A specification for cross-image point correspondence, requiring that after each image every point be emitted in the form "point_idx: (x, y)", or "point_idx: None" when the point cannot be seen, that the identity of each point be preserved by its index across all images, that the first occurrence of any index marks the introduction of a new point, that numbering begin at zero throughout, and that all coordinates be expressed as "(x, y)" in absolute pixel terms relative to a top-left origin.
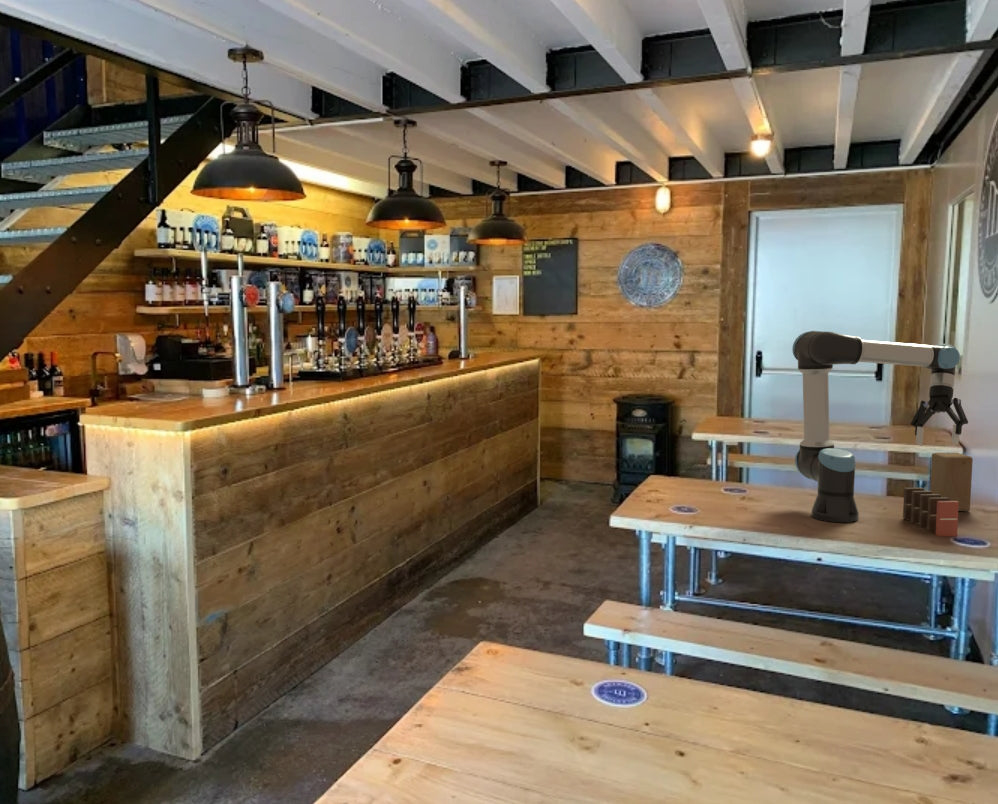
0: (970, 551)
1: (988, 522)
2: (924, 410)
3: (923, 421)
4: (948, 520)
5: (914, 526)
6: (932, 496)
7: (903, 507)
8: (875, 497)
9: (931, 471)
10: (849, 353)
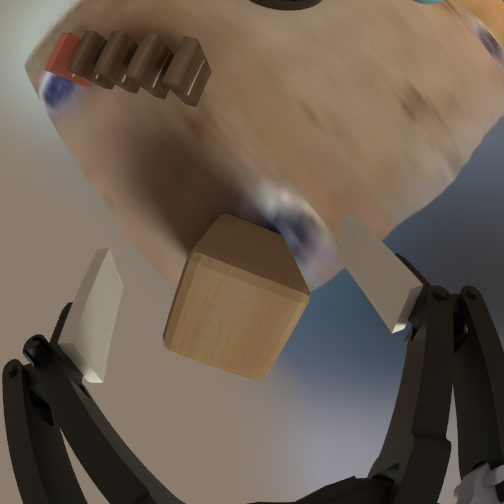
0: (41, 56)
1: (120, 223)
2: (468, 442)
3: (416, 351)
4: None
5: None
6: (103, 53)
7: (206, 61)
8: (399, 196)
9: (290, 260)
10: None
